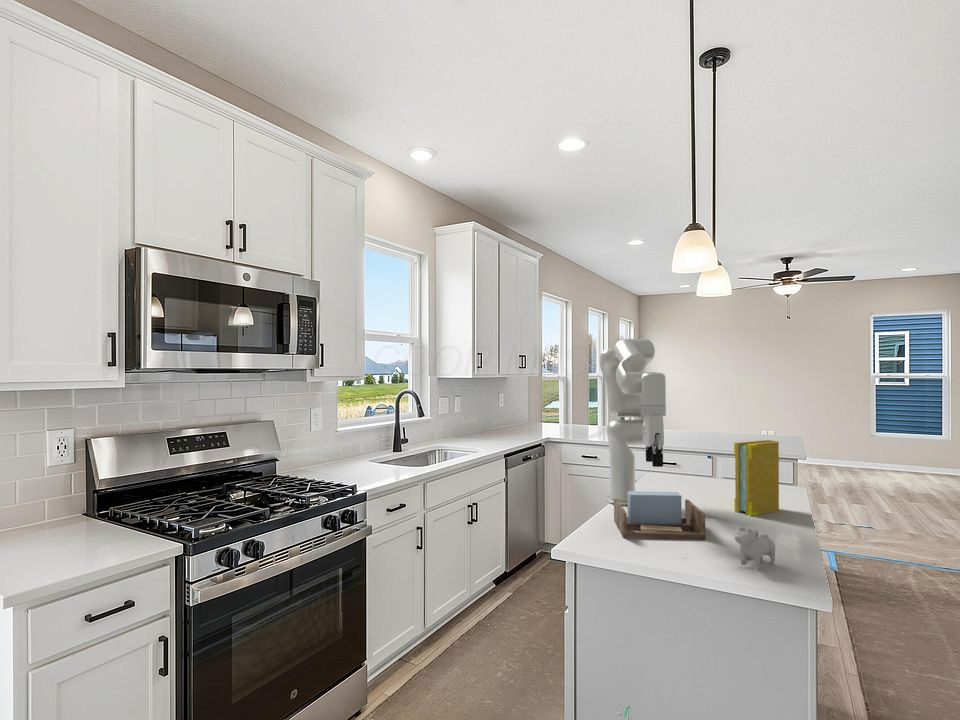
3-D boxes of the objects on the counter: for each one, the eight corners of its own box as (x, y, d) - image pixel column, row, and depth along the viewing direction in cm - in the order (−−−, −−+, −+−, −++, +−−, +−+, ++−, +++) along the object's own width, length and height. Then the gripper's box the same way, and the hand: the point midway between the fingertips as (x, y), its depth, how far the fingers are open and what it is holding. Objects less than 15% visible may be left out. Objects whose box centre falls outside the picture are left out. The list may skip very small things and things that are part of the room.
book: (750, 516, 199) (749, 445, 199) (734, 511, 205) (734, 442, 205) (783, 510, 206) (783, 441, 206) (767, 506, 212) (767, 439, 212)
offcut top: (640, 531, 177) (640, 524, 177) (681, 533, 174) (681, 527, 174) (640, 534, 174) (640, 528, 174) (682, 537, 170) (682, 531, 171)
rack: (614, 525, 188) (614, 498, 188) (688, 526, 186) (688, 499, 186) (623, 542, 170) (623, 512, 170) (705, 544, 168) (705, 514, 168)
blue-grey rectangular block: (627, 527, 186) (627, 491, 186) (677, 528, 185) (677, 492, 185) (630, 532, 181) (630, 494, 181) (681, 533, 180) (681, 495, 180)
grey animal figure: (729, 566, 151) (729, 526, 151) (761, 558, 157) (760, 519, 157) (747, 573, 146) (747, 531, 146) (779, 564, 152) (778, 524, 152)
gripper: (636, 409, 192) (637, 459, 191) (647, 412, 174) (648, 468, 174) (659, 409, 191) (659, 459, 191) (672, 412, 174) (673, 468, 173)
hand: (654, 464), depth 182 cm, fingers open, 9 cm apart
